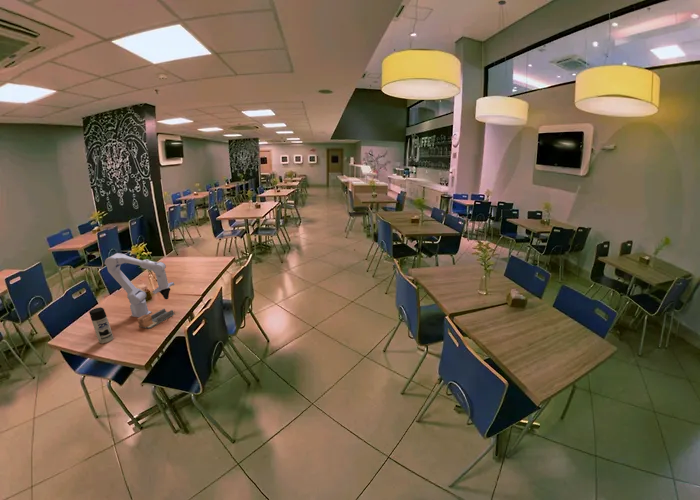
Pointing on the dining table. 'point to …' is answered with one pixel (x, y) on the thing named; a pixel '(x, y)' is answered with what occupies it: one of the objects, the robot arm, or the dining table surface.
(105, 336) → the spray can
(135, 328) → the dining table surface
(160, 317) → the chute
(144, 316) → the block
